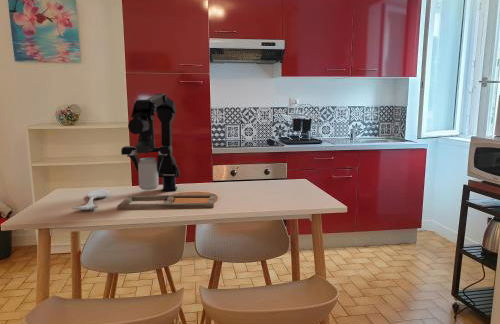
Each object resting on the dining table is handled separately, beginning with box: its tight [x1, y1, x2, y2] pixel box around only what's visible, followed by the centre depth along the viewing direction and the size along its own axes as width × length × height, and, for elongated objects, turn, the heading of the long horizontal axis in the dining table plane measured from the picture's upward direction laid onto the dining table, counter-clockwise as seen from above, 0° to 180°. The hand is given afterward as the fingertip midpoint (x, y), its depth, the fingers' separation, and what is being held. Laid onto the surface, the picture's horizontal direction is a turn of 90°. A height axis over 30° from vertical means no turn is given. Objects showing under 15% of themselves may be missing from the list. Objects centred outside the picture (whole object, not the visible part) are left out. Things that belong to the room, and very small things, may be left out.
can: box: [137, 157, 160, 191], centre depth 153 cm, size 8×8×12 cm
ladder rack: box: [116, 193, 216, 211], centre depth 155 cm, size 16×36×2 cm, turn 92°
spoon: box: [72, 188, 110, 211], centre depth 156 cm, size 9×32×3 cm, turn 11°
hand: (148, 171), depth 153 cm, fingers closed on can, 7 cm apart
